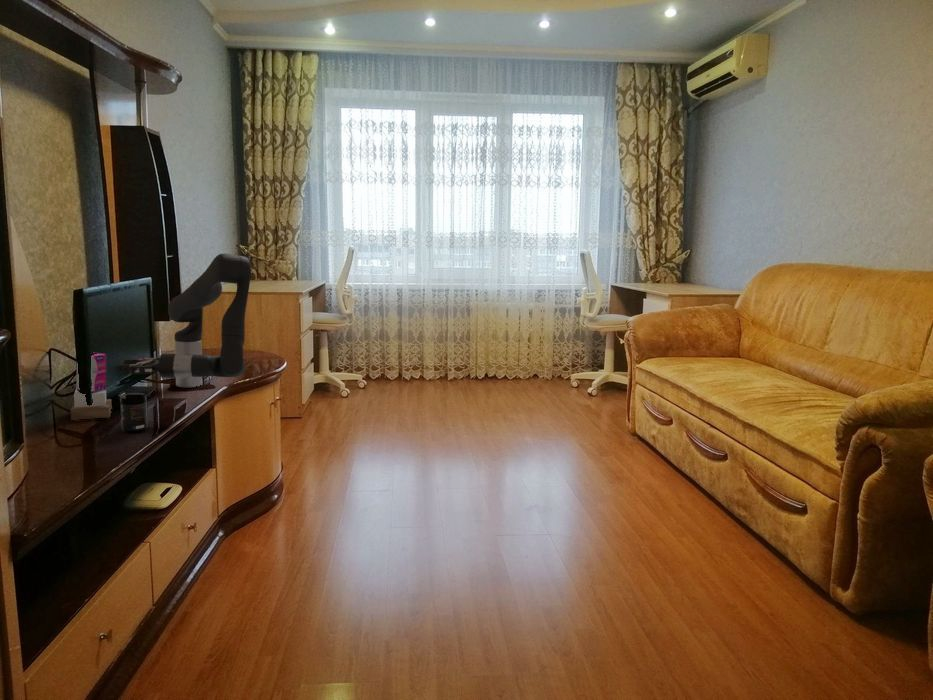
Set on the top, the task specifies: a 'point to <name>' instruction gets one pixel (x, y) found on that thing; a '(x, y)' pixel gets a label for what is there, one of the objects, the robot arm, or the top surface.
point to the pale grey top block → (97, 397)
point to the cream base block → (92, 411)
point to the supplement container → (133, 412)
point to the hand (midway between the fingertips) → (120, 365)
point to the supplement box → (96, 373)
